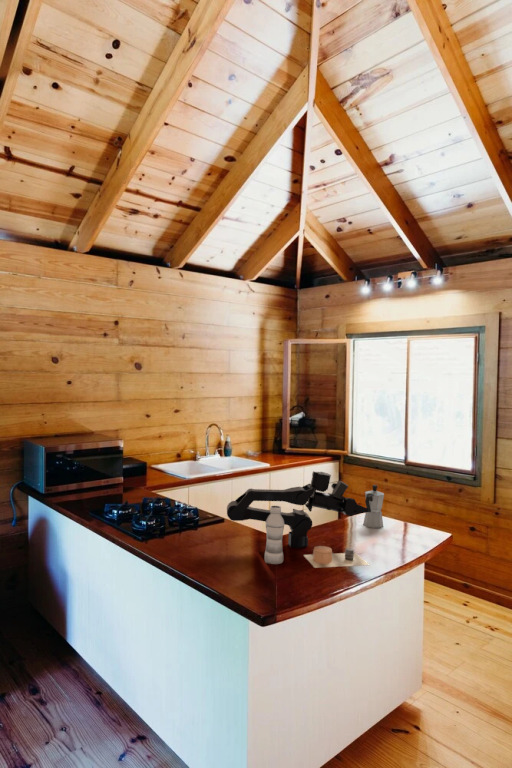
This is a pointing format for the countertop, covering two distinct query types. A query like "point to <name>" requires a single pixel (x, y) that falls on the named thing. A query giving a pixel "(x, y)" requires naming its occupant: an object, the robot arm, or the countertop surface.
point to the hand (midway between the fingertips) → (364, 509)
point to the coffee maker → (373, 508)
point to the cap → (322, 554)
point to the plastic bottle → (274, 536)
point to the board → (340, 560)
